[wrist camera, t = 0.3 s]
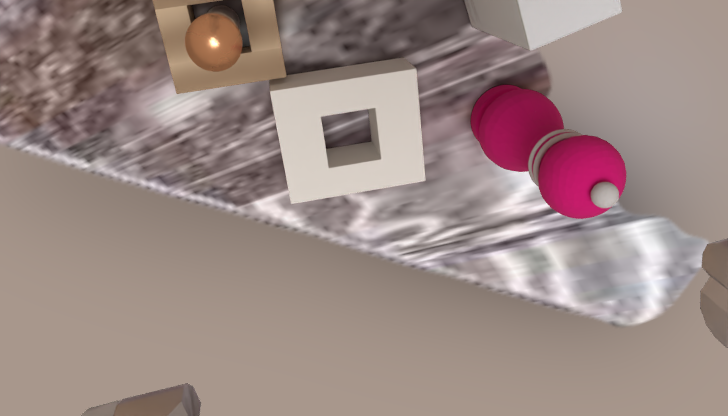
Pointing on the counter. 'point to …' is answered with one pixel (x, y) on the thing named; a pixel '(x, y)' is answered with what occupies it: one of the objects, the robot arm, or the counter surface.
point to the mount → (254, 60)
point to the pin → (215, 39)
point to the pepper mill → (548, 151)
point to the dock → (358, 161)
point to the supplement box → (537, 18)
